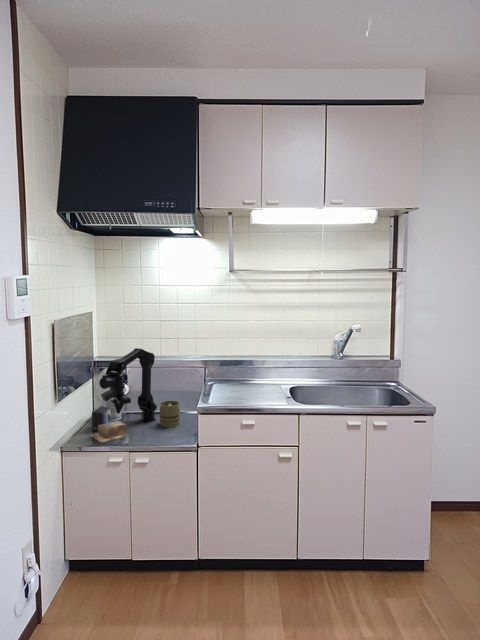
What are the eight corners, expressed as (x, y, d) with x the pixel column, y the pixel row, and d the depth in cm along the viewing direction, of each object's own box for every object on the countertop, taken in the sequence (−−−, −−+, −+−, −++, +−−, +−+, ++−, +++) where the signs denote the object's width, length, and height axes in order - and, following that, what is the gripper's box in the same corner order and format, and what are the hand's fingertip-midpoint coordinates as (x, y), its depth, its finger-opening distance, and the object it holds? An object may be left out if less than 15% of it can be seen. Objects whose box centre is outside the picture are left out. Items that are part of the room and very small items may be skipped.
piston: (179, 400, 272) (180, 405, 260) (179, 420, 273) (180, 426, 262) (159, 401, 270) (159, 406, 259) (160, 421, 271) (159, 427, 260)
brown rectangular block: (119, 419, 255) (97, 424, 248) (126, 424, 249) (105, 429, 241) (119, 429, 256) (98, 434, 248) (127, 433, 249) (105, 439, 241)
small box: (102, 431, 255) (102, 412, 254) (91, 430, 256) (91, 411, 255) (111, 425, 265) (111, 406, 264) (101, 424, 267) (100, 406, 265)
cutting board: (115, 430, 257) (115, 429, 257) (126, 436, 247) (126, 435, 247) (90, 435, 248) (90, 434, 248) (100, 442, 238) (100, 441, 238)
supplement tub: (124, 419, 275) (123, 394, 274) (109, 423, 269) (108, 397, 267) (116, 415, 282) (115, 391, 281) (101, 419, 276) (100, 394, 274)
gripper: (95, 383, 250) (96, 412, 252) (110, 390, 236) (111, 420, 238) (115, 380, 257) (116, 408, 259) (131, 386, 243) (131, 416, 245)
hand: (118, 413), depth 250 cm, fingers closed
